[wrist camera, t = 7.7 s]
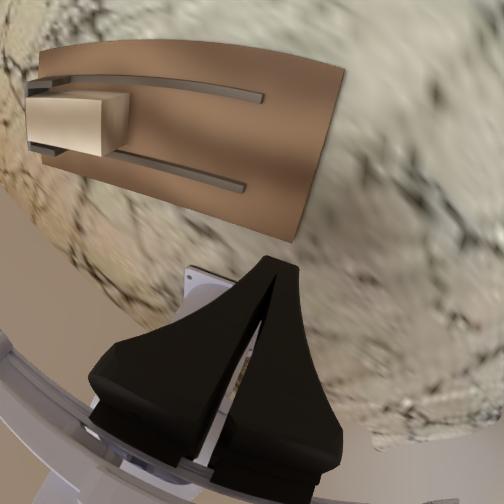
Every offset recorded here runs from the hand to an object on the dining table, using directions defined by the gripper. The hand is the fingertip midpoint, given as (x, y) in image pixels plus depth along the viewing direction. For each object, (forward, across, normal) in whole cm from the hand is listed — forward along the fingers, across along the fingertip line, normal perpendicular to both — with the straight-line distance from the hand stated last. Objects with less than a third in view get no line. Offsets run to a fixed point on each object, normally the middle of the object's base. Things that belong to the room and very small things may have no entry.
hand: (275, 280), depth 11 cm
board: (+9, +13, -2) cm, 16 cm away
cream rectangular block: (+9, +19, -2) cm, 21 cm away
